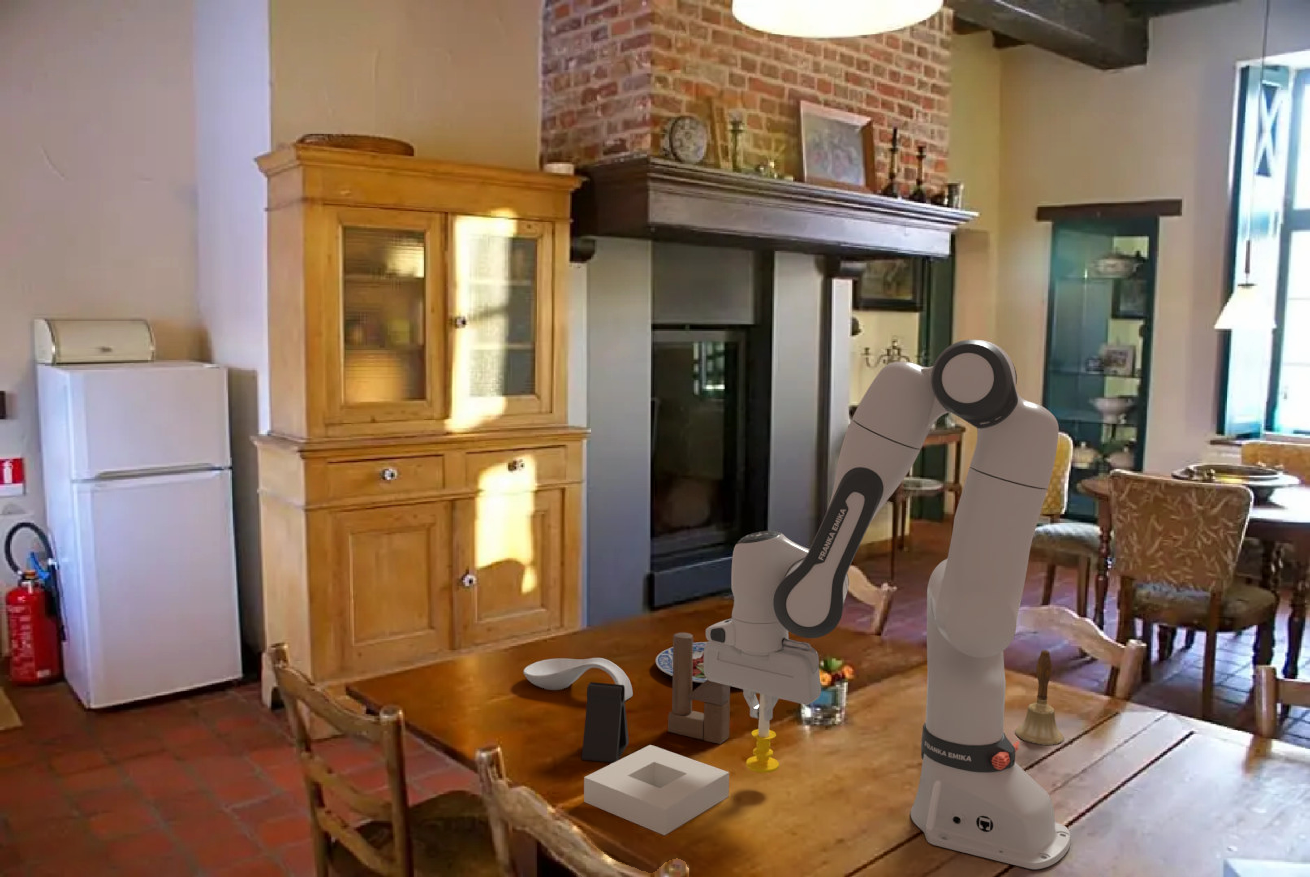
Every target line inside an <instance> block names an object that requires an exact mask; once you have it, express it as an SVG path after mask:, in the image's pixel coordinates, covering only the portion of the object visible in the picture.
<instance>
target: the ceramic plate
mask: <svg viewBox="0 0 1310 877" xmlns="http://www.w3.org/2000/svg"><path fill="white" fill-rule="evenodd" d="M707 642H708V641H703V642H702V641H700V642H698V641H697V642H693V672H692V683H693V682H694V683H700V684H702V683H704V682H705V681H706V680H707V678H706V676H705V674H704V648H705V645H706V643H707ZM655 665H656V666H657V668H658V669H659V670H660V671H662V672H664V673H665V674H666V675H669V676H671V677H673V646H672V647H670V648H667V649H665V650H663V651H661V652H660V653H659V654H657V656H656V657H655Z"/></svg>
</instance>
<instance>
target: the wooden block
mask: <svg viewBox="0 0 1310 877" xmlns="http://www.w3.org/2000/svg"><path fill="white" fill-rule="evenodd" d="M693 643H694V636H693V634H691V633H689V632H677V633H674V634H673V637H672V645H673V646H672V647H673V676H672V704H671V705H672V707H671V708H672V710H671V711H670V712H669V713H668V716H667V728H668V729H667V732H668V733H672V734H677V735H680V736H684V737H689V738H694V739H698V740H703V741H705V742H710V743H714V744H718V745H722V744H723V743H725V742H726V741H727V740H728V739H729V737H730V714H731V712H730V710H731V709H730V706H731V703H730V702H731V701H730V699H731V698H730V697H731V686H728V685H724V684H720V683H716V682H712V681H709V680H708V679H707V680H706V681H705V682H704V683H700V685H698V686H697V687H696V688H695V689H694V690H693V681H692V672H693ZM693 700H694V701H697V702H698V701H699V702H702V703H703V704H704V705H703V706H704V707H703V710H704V711H703V712H700V711H695V710H693Z"/></svg>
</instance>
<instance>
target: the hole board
mask: <svg viewBox="0 0 1310 877" xmlns="http://www.w3.org/2000/svg"><path fill="white" fill-rule="evenodd" d="M583 778H584V779H583V800H584V801H583V802H584V803H586V804H588V805H590V806H593V807H596V808H598V809H601V810H602V811H605V812H606V813H607V812H608V813H610V814H613V815H614V816H617V817H618V818H621V819H625V820H627V821H629V822H631V823H634V824H637V825H638V826H641V827H643V828H646V829H648V830H650V831H653V832H655V833H657V834H660V835H662V836H667V835H669V833H671V832H673V831H675V830H677V829H678V828H680V827H681V826H683V825H684V824H686V823H687V822H690V821H691V820H692V819H695V818H696V817H697V816H699V815H701V814H703V813H704V812H707V810H709V809H710V808H712V807H714V806H715V805H717V804H719V803H720V802H722V801H724V800H726V799H727V798H728V797H729V796H730V794H729V792H730V772H729V771H727V770H723V769H721V768H718V767H715V766H713V765H709V764H706V763H705V762H701V761H698V760H695V759H692V758H689V757H687V756H684V755H681V754H678V753H675V752H672V751H670V750H667V749H664V748H662V747H659V746H655V745H651V744H649V745H647V746H645V747H642V748H641V749H639V750H637V751H634V752H633V753H630V754H629V755H627V756H624V757H622V758H621V759H620V758H619V760H618V761H616V762H614V763H610V764H609V765H606V766H604V767H602V768H600V769H598V770H596V771H594V772H592V773H590V774H588V775H586V776H584V777H583Z"/></svg>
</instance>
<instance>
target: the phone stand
mask: <svg viewBox="0 0 1310 877" xmlns="http://www.w3.org/2000/svg"><path fill="white" fill-rule="evenodd" d="M585 709H586V710H585V719H584V731H583V739H582V741H583V743H582V751H581V761H590V762H591V761H592V762H597V763H598V762H599V763H600V762H601V763H608V764H609V763H610V764H612V763H614V762H616V761H618V760H620V758H621V756H622V754H623V753H624V752H625V750H626V748H627V746H628V745H629V742H630V740H629V731H628V718H627V709H626V701H625V687H624V685H617V684H615V683H605V682H592V681H590V682H589V683H588V685H587V688H586V708H585Z"/></svg>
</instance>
